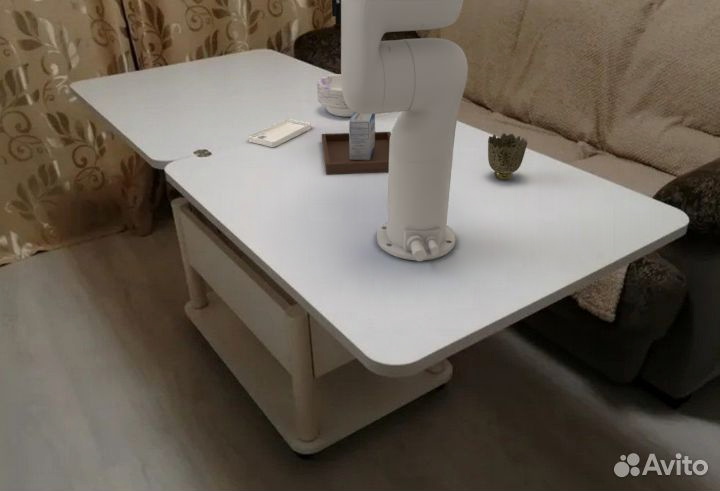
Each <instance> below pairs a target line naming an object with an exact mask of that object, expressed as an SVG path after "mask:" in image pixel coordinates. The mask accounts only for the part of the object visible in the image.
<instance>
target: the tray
mask: <svg viewBox="0 0 720 491" xmlns="http://www.w3.org/2000/svg"><path fill="white" fill-rule="evenodd" d="M391 132H392V131H375V148H374V151H373V153H372V156H371V159H370V161H365V160H351V159H350V145H349V132H339V133H321V147H322V153H323V160H324V168H325V174H326V175H341V174H342V175H343V174H344V175H345V174H368V173H371V174H372V173H389V143H390V136H391Z"/></svg>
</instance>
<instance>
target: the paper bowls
mask: <svg viewBox="0 0 720 491" xmlns="http://www.w3.org/2000/svg"><path fill="white" fill-rule="evenodd" d="M316 87H317V88H316V91H317V92H316V93H317V94H316V95H317V101H318V102H319V104H321V105H323V106H324V107H325V108H326V110H327V112H328V113H330V114H331V115H334V116H338V117H343V118H344V117H346V118H347V117H348V118H349V117H350V118H352V116H353V114H354V112H353V111H352V110H350V109H349V108H348V106H347V105H346V103H345V100H344V97H343V92H342V84H341V73H338V74H337V73H336V74H329V75H326V76H322V77H320V78H319V79H318V80H317V83H316Z"/></svg>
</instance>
